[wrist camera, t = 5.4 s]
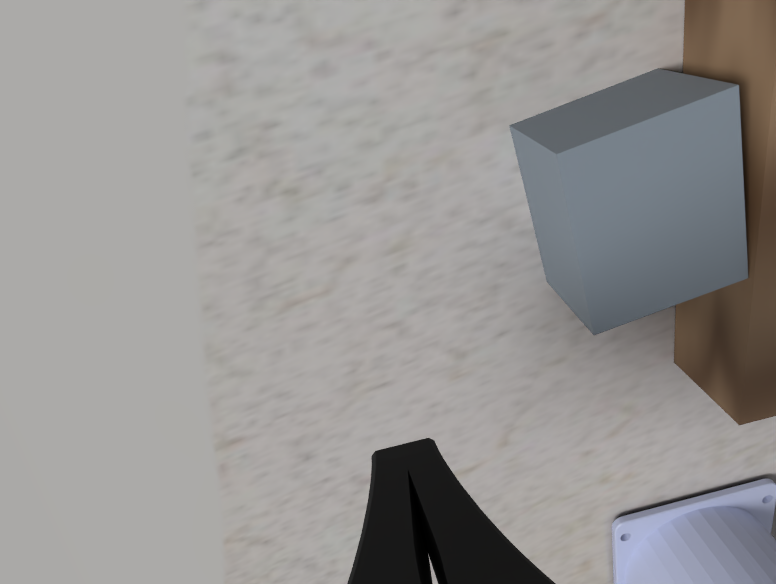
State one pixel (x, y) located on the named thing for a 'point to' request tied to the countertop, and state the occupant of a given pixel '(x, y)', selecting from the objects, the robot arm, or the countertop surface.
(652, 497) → the countertop surface
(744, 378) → the walnut board
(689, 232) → the slate block
